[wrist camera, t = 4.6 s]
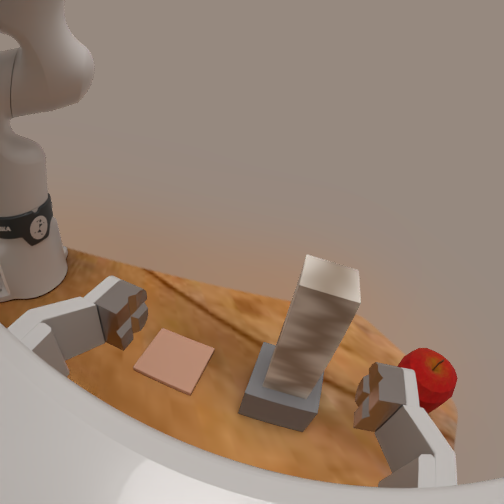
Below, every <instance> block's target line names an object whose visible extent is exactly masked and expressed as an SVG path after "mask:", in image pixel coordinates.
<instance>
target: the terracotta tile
mask: <svg viewBox="0 0 504 504" xmlns="http://www.w3.org/2000/svg"><path fill="white" fill-rule="evenodd" d="M214 350H215V348H212V347H209V346H207V345H204V344H201V343H199V342H196V341H194V340H191V339H189V338H186V337H184V336H181V335H179V334H176V333H174V332H171V331H169V330H166V329H164V328H162V329H161V330H160V332H159V333H158V334H157V336H156V337H155V338H154V340H153V341H152V342H151V344H150V345H149V346H148V348H147V349H146V350H145V352H144V353H143V354H142V356H141V357H140V358H139V360H138V361H137V362H136V364H135V365H134V366H133V369H134V370H136V371H138V372H140V373H142V374H144V375H146V376H148V377H150V378H152V379H154V380H156V381H158V382H160V383H163V384H165V385H167V386H169V387H171V388H174V389H176V390H178V391H181V392H183V393H185V394H188V395H190V396H191V394H192V392H193V390H194V388H195V386H196V385H197V383H198V381H199V379H200V377H201V375H202V373H203V372H204V370H205V368H206V366H207V364H208V362H209V360H210V358H211V356H212V355H213V353H214Z"/></svg>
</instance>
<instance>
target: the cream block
mask: <svg viewBox="0 0 504 504" xmlns="http://www.w3.org/2000/svg"><path fill="white" fill-rule="evenodd" d="M360 304H361V299H360V283H359V271H358V270H356V269H353V268H350V267H346V266H343V265H340V264H336V263H333V262H330V261H327V260H324V259H320V258H317V257H313V256H310V255H307V256H306V258H305V262H304V265H303V268H302V271H301V274H300V277H299V280H298V283H297V287H296V289H295V292H294V295H293V298H292V301H291V304H290V307H289V310H288V313H287V316H286V319H285V322H284V324H283V327H282V330H281V333H280V336H279V338H278V341H277V344H276V347H275V350H274V352H273V355H272V358H271V361H270V364H269V367H268V371H267V374H266V377H265V380H264V383H263V386H262V387H265V388H269V389H272V390H275V391H279V392H282V393H286V394H289V395H293V396H296V397H300V398H304V399H307V397H308V396H309V394H310V393H311V391H312V390H313V388H314V386H315V385H316V383H317V381H318V380H319V378H320V377H321V375H322V373H323V372H324V370H325V368H326V367H327V365H328V363H329V361H330V360H331V358H332V356H333V354H334V353H335V351H336V349H337V347H338V346H339V344H340V342H341V340H342V338H343V336H344V335H345V333H346V331H347V329H348V327H349V325H350V323H351V321H352V320H353V318H354V316H355V314H356V312H357V310H358V308H359V306H360Z"/></svg>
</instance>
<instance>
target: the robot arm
mask: <svg viewBox="0 0 504 504" xmlns="http://www.w3.org/2000/svg"><path fill="white" fill-rule="evenodd" d="M64 2H65V0H0V32H1V33H3V34H7V35H9V36H11V37H13V38H14V39H15V40H16V41H17V42H18V43H19V44H20V48H16V49H11V50H6V51H1V52H0V302H5V301H8V300H12V299H28V298H34V297H38V296H40V295H43V294H45V293H47V292H49V291H51V290H52V289H54V288H55V287H56V286H57V285H59V284H60V283H61V281H62V280H63V279H64V277H65V275H66V273H67V263H66V257H67V255H68V250H67V247H65V246H63V245H62V241H61V237H60V233H59V228H58V224H57V220H56V218H54V217H53V212H52V202H51V198H50V194H49V193H48V190H47V176H46V157H45V153H44V151H43V149H42V147H41V146H40V145H39V144H38V143H36V142H35V141H33V140H30V139H28V138H25V137H22V136H19V135H17V134H15V133H14V132H13V131H12V128H11V126H10V119H11V118H14V117H18V116H23V115H28V114H35V113H41V112H48V111H53V110H56V109H59V108H62V107H66V106H69V105H72V104H75V103H78V102H79V101H80V100H81V99H82V98H83V97H84V95H85V94H86V93H87V91H88V89H89V88H90V86H91V83H92V80H93V76H94V60H93V57H92V55H91V53H90V51H89V50H88V48H87V47H86V46H84V45H83V44H81V43H80V42H79V41H78V40H77V39H76V38H75V37H74V36H73V35H72V33H71V32H70V30H69V28H68V26H67V23H66V20H65V14H64ZM146 299H147V294H146V291H145V290H144V289H142V288H140V287H137V286H135V285H133V284H130V283H128V282H126V281H124V280H121V279H119V278H117V277H114V276H108V277H107V278H106V279H105V280H103V281H102V282H101V283H100V284H99V285H98V286H96V287H95V288H94V289H93V290H92V291H90V292H89V293H88V294H87V295H86V296H85V297H84V298H82V297H76V298H73V299H69V300H65V301H61V302H57V303H53V304H49V305H45V306H42V307H38V308H34V309H30V310H28V311H27V312H25V313H24V314H23V315H22V316H21V317H20V318H18V319H17V320H16V321H15V322H14V323H13V324H12V325H10V326H9V327H8V328H5V327H4V326H3V325H2V324H1V323H0V504H504V477H503V478H498V479H493V480H488V481H482V482H476V483H469V484H462V485H457V471H456V456H455V453H454V451H453V450H452V448H451V447H450V445H449V444H448V442H447V441H446V439H445V438H444V437H443V435H442V434H441V432H440V431H439V429H438V428H437V427H436V425H435V424H434V422H433V421H432V419H431V418H430V417H429V415H428V414H427V412H426V411H425V410H424V408H421V407H420V405H419V396H418V389H417V382H416V375H415V371H414V370H412V369H407V368H402V367H401V368H400V367H396V366H391V365H387V364H382V363H377V362H375V363H374V364H372V366H371V367H370V368H369V375H367V376H365V377H363V379H362V380H361V382H360V383H359V386H358V388H357V391H356V397H355V402H356V404H357V406H358V409H357V410H356V411H355V412H354V425H353V428H356V429H361V430H366V431H372V432H375V435H376V438H377V440H378V442H379V444H380V446H381V449H382V451H383V453H384V455H385V458H386V460H387V462H388V464H389V467H390V469H391V471H392V474H391V475H389V476H387V477H386V478H384V479H382V480H381V481H380V482H379V484H378V487H366V486H355V485H345V484H337V483H330V482H323V481H317V480H311V479H305V478H300V477H295V476H290V475H286V474H281V473H277V472H273V471H269V470H265V469H261V468H258V467H254V466H251V465H247V464H244V463H240V462H237V461H234V460H231V459H228V458H225V457H222V456H219V455H216V454H213V453H211V452H208V451H205V450H203V449H200V448H197V447H195V446H192V445H190V444H187V443H185V442H183V441H180V440H178V439H176V438H173V437H171V436H169V435H167V434H164V433H162V432H160V431H158V430H156V429H154V428H152V427H150V426H148V425H146V424H144V423H142V422H140V421H138V420H136V419H134V418H132V417H130V416H128V415H126V414H125V413H123V412H121V411H119V410H117V409H116V408H114V407H112V406H110V405H109V404H107V403H105V402H104V401H102V400H100V399H99V398H97V397H96V396H94V395H92V394H91V393H89V392H88V391H86V390H85V389H83V388H81V387H80V386H78V385H77V384H76V383H74V382H73V381H71V380H70V379H68V378H67V376H68V375H69V369H68V367H67V365H66V362H65V360H68V359H70V358H72V357H74V356H77V355H79V354H81V353H84V352H86V351H88V350H90V349H93V348H95V347H97V346H99V345H102V344H104V343H105V342H107V343H109V344H111V345H113V346H115V347H117V348H119V349H121V350H123V351H124V350H125V349H126V347H127V346H128V345H129V344H130V343H131V341H132V340H133V333H136V332H139V331H140V330H141V329H142V328H143V327H144V325H145V323H146V320H147V317H148V308H147V306H146V305H145V303H144V301H145V300H146Z"/></svg>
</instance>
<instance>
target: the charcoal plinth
mask: <svg viewBox="0 0 504 504" xmlns="http://www.w3.org/2000/svg"><path fill="white" fill-rule="evenodd" d="M275 347H276V346H275V345H272V344H269V343H266V342H264V343H263V346H262V348H261V351H260V354H259V356H258V359H257V362H256V365H255V367H254V370H253V373H252V375H251V378H250V381H249V383H248V386H247V388H246V391H245V394H244V397H243V400H242V403H241V406H240V409H239V412H238V413H239V414H242V415H245V416H248V417H251V418H254V419H257V420H261V421H264V422H268V423H271V424H275V425H278V426H282V427H286V428H289V429H293V430H297V431H301V432H303V431H304V430H305V428H306V427H307V426H308V425H309V424H310V422H311V421H312V420H313V418H314V417H315V416H316V415H317V413H318V407H319V401H320V395H321V389H322V382H323V375H324V372H323V373H322V375H321V377H320V378H319V380H318V381H317V383H316V385H315V386H314V388H313V390H312V391H311V393H310V394H309V396H308V397H307V399H304V398H300V397H296V396H293V395H289V394H286V393H282V392H279V391H275V390H272V389H269V388H265V387H262V386H263V383H264V380H265V377H266V374H267V371H268V367H269V364H270V361H271V358H272V355H273V352H274V350H275Z"/></svg>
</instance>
